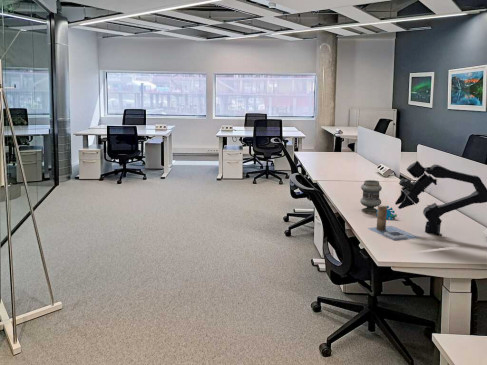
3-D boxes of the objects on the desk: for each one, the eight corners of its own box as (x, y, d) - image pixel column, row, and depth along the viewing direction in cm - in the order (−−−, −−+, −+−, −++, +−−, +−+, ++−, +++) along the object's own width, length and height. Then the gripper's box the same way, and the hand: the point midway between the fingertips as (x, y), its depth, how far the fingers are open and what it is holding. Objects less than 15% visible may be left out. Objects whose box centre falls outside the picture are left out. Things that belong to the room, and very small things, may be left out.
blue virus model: (373, 217, 266) (379, 202, 271) (373, 222, 271) (379, 208, 276) (393, 223, 262) (399, 207, 266) (393, 228, 266) (398, 213, 271)
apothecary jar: (355, 209, 292) (357, 179, 289) (373, 207, 296) (375, 179, 293) (366, 213, 281) (368, 183, 278) (384, 212, 285) (386, 182, 281)
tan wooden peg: (382, 227, 248) (383, 205, 246) (387, 230, 244) (388, 207, 242) (374, 228, 247) (376, 205, 245) (379, 230, 243) (381, 207, 241)
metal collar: (397, 233, 238) (397, 231, 238) (407, 238, 231) (407, 235, 231) (383, 235, 236) (384, 232, 235) (393, 239, 228) (393, 236, 228)
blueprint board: (391, 227, 253) (391, 225, 252) (420, 239, 232) (420, 237, 232) (367, 230, 248) (367, 227, 247) (393, 242, 227) (394, 240, 227)
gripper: (406, 170, 248) (383, 191, 251) (413, 176, 230) (388, 198, 233) (421, 185, 248) (398, 206, 251) (429, 192, 230) (404, 215, 233)
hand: (397, 206), depth 242 cm, fingers open, 9 cm apart
